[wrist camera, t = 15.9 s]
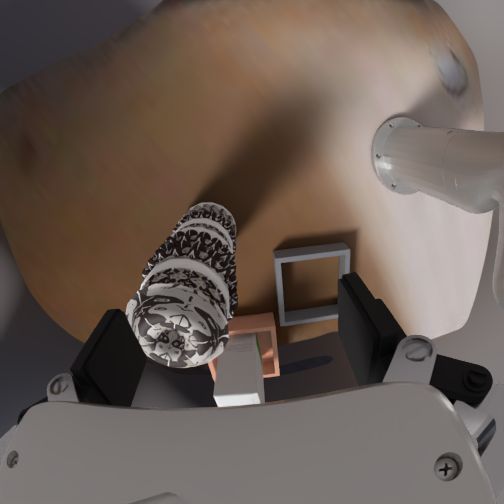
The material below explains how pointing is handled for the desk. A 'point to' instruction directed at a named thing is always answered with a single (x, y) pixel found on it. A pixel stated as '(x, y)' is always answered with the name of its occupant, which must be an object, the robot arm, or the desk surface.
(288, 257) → the frame
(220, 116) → the desk surface
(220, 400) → the skincare box
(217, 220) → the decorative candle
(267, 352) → the terracotta bin
